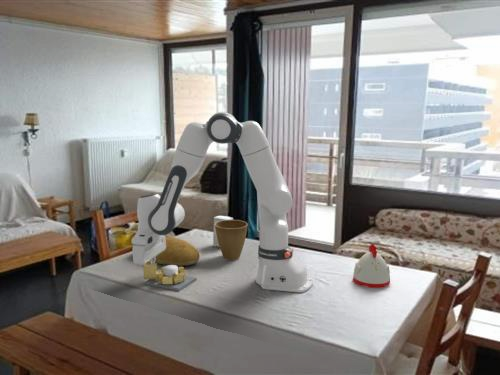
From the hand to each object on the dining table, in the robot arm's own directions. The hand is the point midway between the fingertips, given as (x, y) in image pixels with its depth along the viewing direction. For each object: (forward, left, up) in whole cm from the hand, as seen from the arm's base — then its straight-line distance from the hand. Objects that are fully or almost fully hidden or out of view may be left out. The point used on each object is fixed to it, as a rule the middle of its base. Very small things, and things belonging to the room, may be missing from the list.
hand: (151, 268), depth 168 cm
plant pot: (-17, -37, -5) cm, 41 cm away
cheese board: (-6, 0, -3) cm, 7 cm away
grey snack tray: (-9, -1, -5) cm, 10 cm away
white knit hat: (-80, -35, -5) cm, 87 cm away
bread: (+9, -24, -5) cm, 26 cm away
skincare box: (-5, -51, -5) cm, 51 cm away
